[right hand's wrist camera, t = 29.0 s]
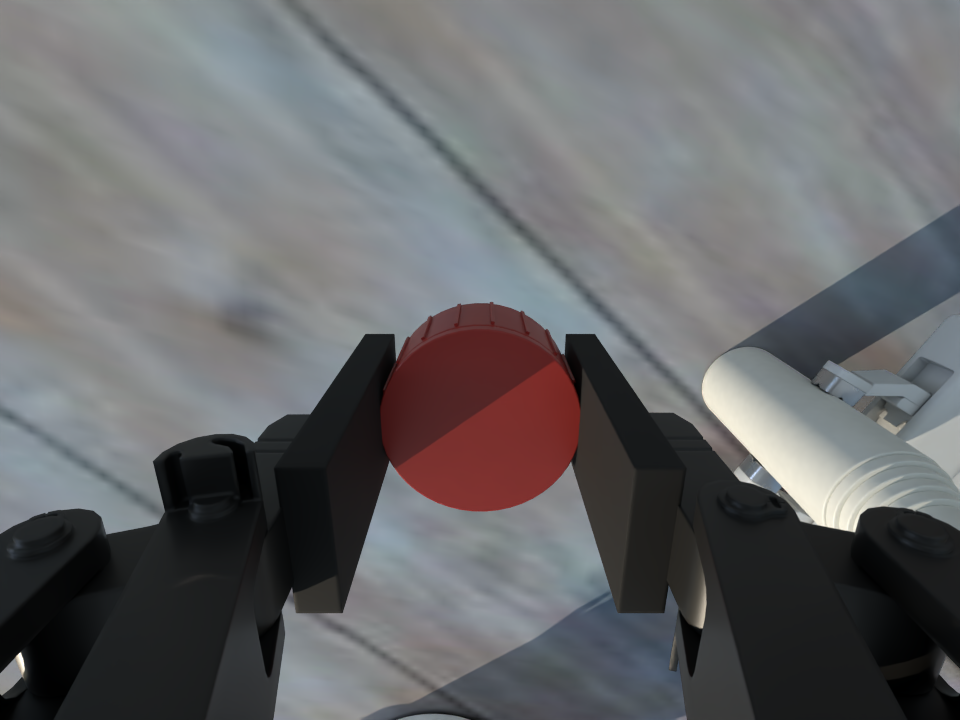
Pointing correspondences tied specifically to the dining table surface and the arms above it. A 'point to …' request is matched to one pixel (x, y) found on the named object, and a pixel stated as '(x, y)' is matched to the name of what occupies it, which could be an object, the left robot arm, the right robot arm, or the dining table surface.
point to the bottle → (822, 444)
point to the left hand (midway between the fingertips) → (784, 423)
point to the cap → (480, 409)
